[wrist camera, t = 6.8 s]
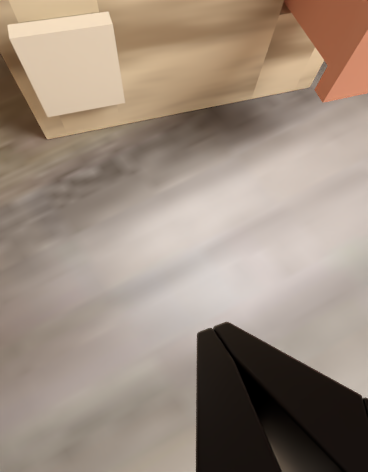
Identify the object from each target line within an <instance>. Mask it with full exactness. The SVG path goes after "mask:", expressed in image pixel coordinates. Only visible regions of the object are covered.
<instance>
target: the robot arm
mask: <svg viewBox="0 0 368 472" xmlns="http://www.w3.org/2000/svg"><path fill="white" fill-rule="evenodd" d="M196 472H368V398H362V396H361V395H360V394H358V393H356V392H354V391H353V390H351V389H349V388H347V387H345V386H344V385H342V384H340V383H338V382H336V381H335V380H333V379H331V378H329V377H327V376H325V375H324V374H322V373H320V372H318V371H316V370H315V369H313V368H311V367H309V366H307V365H306V364H304V363H302V362H300V361H298V360H296V359H295V358H293V357H291V356H289V355H287V354H286V353H284V352H282V351H280V350H278V349H276V348H275V347H273V346H271V345H269V344H267V343H266V342H264V341H262V340H260V339H258V338H257V337H255V336H253V335H251V334H249V333H247V332H246V331H244V330H242V329H240V328H238V327H237V326H235V325H233V324H231V323H229V322H224V323H222V324H219V325H216V326H214V328H213V329H212V328H208V329H206V330H203V331H200V332H198V333H197V393H196Z"/></svg>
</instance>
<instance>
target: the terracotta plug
mask: <svg viewBox="0 0 368 472" xmlns="http://www.w3.org/2000/svg"><path fill="white" fill-rule="evenodd" d="M284 3H285V4H286V6H287V7H288V9H289V10H290V11H291V13H292V14H293V16H294V17H295V19H296V20H297V22H298V23H299V24H300V26H301V27H302V29H303V30H304V32H305V33H306V35H307V36H308V38H309V39H310V40H311V42H312V43H313V45H314V46H315V48H316V49H317V51H318V52H319V53H320V55H321V56H322V58H323V59H324V61H325V62H326V64H327V65H328V66H327V68H326V70H325V72H324V74H323V75H322V77H321V79H320V81H319V83H318V84H317V86H316V88H315V91H316V93H317V94H318V96H319V97H320V99H321V101H322V102H328V101H333V100H337V99H342V98H347V97H352V96H356V95H361V94H366V93H368V0H284Z"/></svg>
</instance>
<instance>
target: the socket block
mask: <svg viewBox="0 0 368 472" xmlns="http://www.w3.org/2000/svg"><path fill="white" fill-rule="evenodd" d="M100 12H109V15H110V18H111V21H112V23H113V29H114V35H115V41H116V48H117V54H118V60H119V67H120V73H121V79H122V86H123V92H124V98H125V103H122V104H117V105H111V106H106V107H101V108H95V109H90V110H85V111H79V112H74V113H68V114H63V115H58V116H52V117H47V115H46V113H45V111H44V109H43V107H42V104H41V102H40V100H39V98H38V96H37V94H36V92H35V90H34V88H33V86H32V84H31V82H30V80H29V78H28V76H27V74H26V72H25V70H24V68H23V66H22V64H21V62H20V60H19V58H18V55H17V53H16V51H15V49H14V47H13V45H12V43H11V41H10V39H9V33H8V27H7V25H9V24H17V23H25V22H29V21H36V20H43V19H51V18H58V17H66V16H73V15H81V14H89V13H91V14H93V13H100ZM0 53H1V55H2V57H3V59H4V61H5V63H6V64H7V66H8V68H9V70H10V72H11V74H12V75H13V77H14V79H15V81H16V83H17V85H18V87H19V88H20V90H21V92H22V94H23V96H24V98H25V99H26V101H27V103H28V105H29V107H30V109H31V111H32V112H33V114H34V116H35V118H36V120H37V122H38V123H39V125H40V127H41V129H42V131H43V133H44V134H45V136H46V138H47V139H52V138H57V137H62V136H67V135H73V134H78V133H83V132H88V131H93V130H98V129H103V128H108V127H113V126H118V125H123V124H128V123H133V122H138V121H143V120H148V119H153V118H158V117H163V116H168V115H173V114H178V113H183V112H188V111H194V110H199V109H204V108H209V107H214V106H219V105H224V104H229V103H234V102H239V101H244V100H249V99H254V98H259V97H264V96H269V95H274V94H279V93H284V92H289V91H294V90H299V89H304V88H309V87H310V86H311V84H312V82H313V80H314V78H315V76H316V75H317V73H318V71H319V69H320V67H321V65H322V63H323V61H324V59H323V58H322V56H321V55H320V53H319V52H318V51H317V49H316V48H315V46H314V45H313V43H312V42H311V40H310V39H309V38H308V36H307V35H306V33H305V32H304V30H303V29H302V27H301V26H300V24H299V23H298V22H297V20H296V19H295V17H294V16H293V14H292V13H291V11H290V10H289V9H288V7H287V6H286V4H285V3H284V0H0Z"/></svg>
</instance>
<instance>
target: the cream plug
mask: <svg viewBox="0 0 368 472" xmlns="http://www.w3.org/2000/svg"><path fill="white" fill-rule="evenodd" d="M7 27H8V33H9V39H10V41H11V43H12V45H13V47H14V49H15V51H16V53H17V55H18V58H19V60H20V62H21V64H22V66H23V68H24V70H25V72H26V74H27V76H28V78H29V80H30V82H31V84H32V86H33V88H34V90H35V92H36V94H37V96H38V98H39V100H40V102H41V104H42V107H43V109H44V111H45V113H46V115H47V117H52V116H58V115H63V114H68V113H74V112H79V111H85V110H90V109H95V108H101V107H106V106H111V105H117V104H122V103H125V98H124V92H123V86H122V79H121V73H120V67H119V60H118V54H117V48H116V41H115V35H114V29H113V23H112V21H111V18H110V15H109V12H100V13H93V14H91V13H89V14H81V15H73V16H66V17H58V18H51V19H43V20H36V21H29V22H25V23H17V24H9V25H7Z"/></svg>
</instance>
